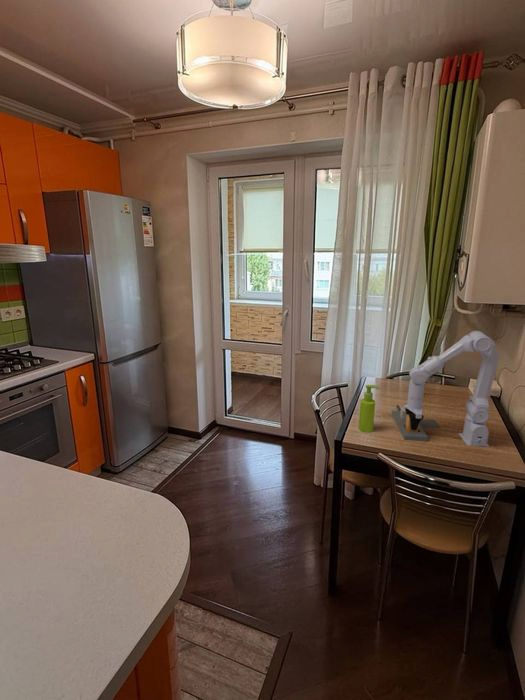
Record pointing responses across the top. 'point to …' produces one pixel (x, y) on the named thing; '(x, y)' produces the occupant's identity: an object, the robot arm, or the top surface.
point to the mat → (429, 423)
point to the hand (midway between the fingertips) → (411, 426)
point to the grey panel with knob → (401, 423)
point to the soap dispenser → (367, 410)
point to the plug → (409, 425)
